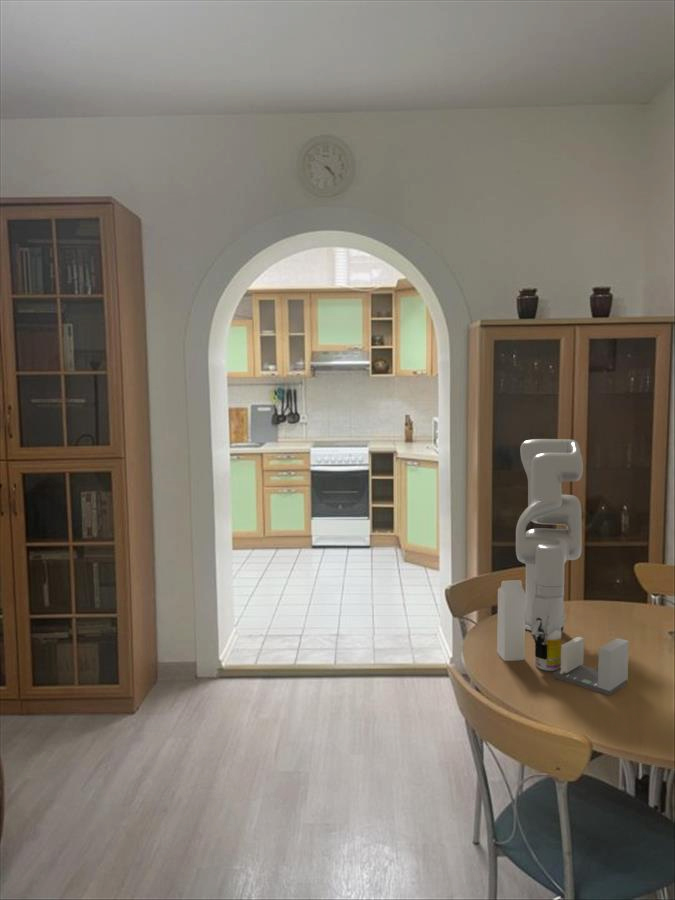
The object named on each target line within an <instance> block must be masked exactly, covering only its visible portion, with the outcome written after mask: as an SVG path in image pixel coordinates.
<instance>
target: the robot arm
mask: <svg viewBox="0 0 675 900" xmlns="http://www.w3.org/2000/svg"><path fill="white" fill-rule="evenodd" d="M519 452H520V453H519V454H520V460H521V463H522V465H523V469H524V471H525V474H526V477H527V487H528V488H527V490H528V491H527V493H528V494H527V501H528V502H527V507H526V508H525V509H524V511H523V512H522V513H521V515H520V516H519V519H518V520H517V523H516V527H515V555H516V558H517V561H519V562H520V563H522V564H525V594H526V607H525V630H527V631H530V632H531V633H530V635H531V636H532V639H533V640H534V643H535V645H534V647H535V649H534V657H535V656H536V657H538V658H541V659H547V645H546V640H547V636H548V634H550V633H552V632H554V631H555V630H559V631H560V633H561V638H562V637H563V633H562V632H563V629H564V626H565V623H566V618H565V601H564V596H565V564H566V563H567V561H574V560H575V561H576V560H578V559H579V558H580V557H581V554H582V548H583V547H582V546H583V540H582V538H583V537H582V535H583V534H582V533H583V531H582V525H583V524H582V520H583V519H582V506H581V505H582V504H581V502H580V499H579V498H578V497H577V496H575V495H573V494H563V493H562V492H563V491H562V482H579V481H580V480H581V478H582V476H583V473H584V462H583V457H582V454H581V449H580V445H579V443H578V442H577V440H574V439H568V438H567V439H566V438H565V439H564V438H557V439H556V438H551V439H550V438H533V439H527V440H524V441H523V442H522V443H521V445H520V449H519ZM531 522H532V523H534V524H540V525H559V526H561V525H562V526H564V527H565V528H543V527H542V528H541V527H539V528H538V527H537V528H536V527H535V528H531V529H528V530H527V527H528V525H529V523H531ZM556 625H557V627H555V626H556ZM540 630H544V633H543V632H540ZM540 634H541V635H543V639H542V638H541V637H540Z"/></svg>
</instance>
